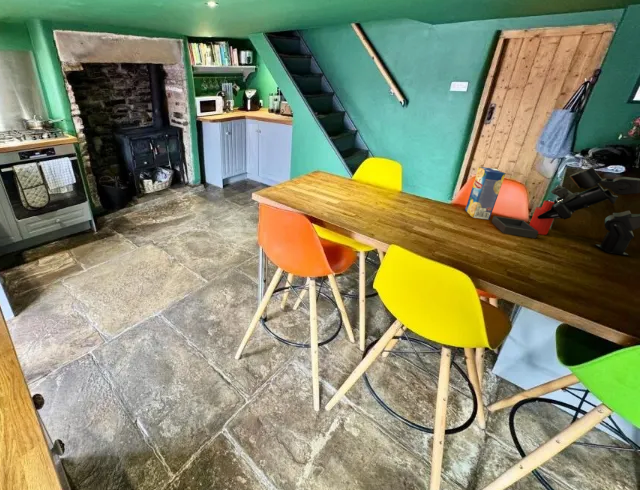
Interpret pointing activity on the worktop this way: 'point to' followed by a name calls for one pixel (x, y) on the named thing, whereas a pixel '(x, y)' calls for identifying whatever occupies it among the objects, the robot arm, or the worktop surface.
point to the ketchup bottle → (542, 224)
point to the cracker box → (484, 192)
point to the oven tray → (514, 227)
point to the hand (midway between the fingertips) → (538, 215)
